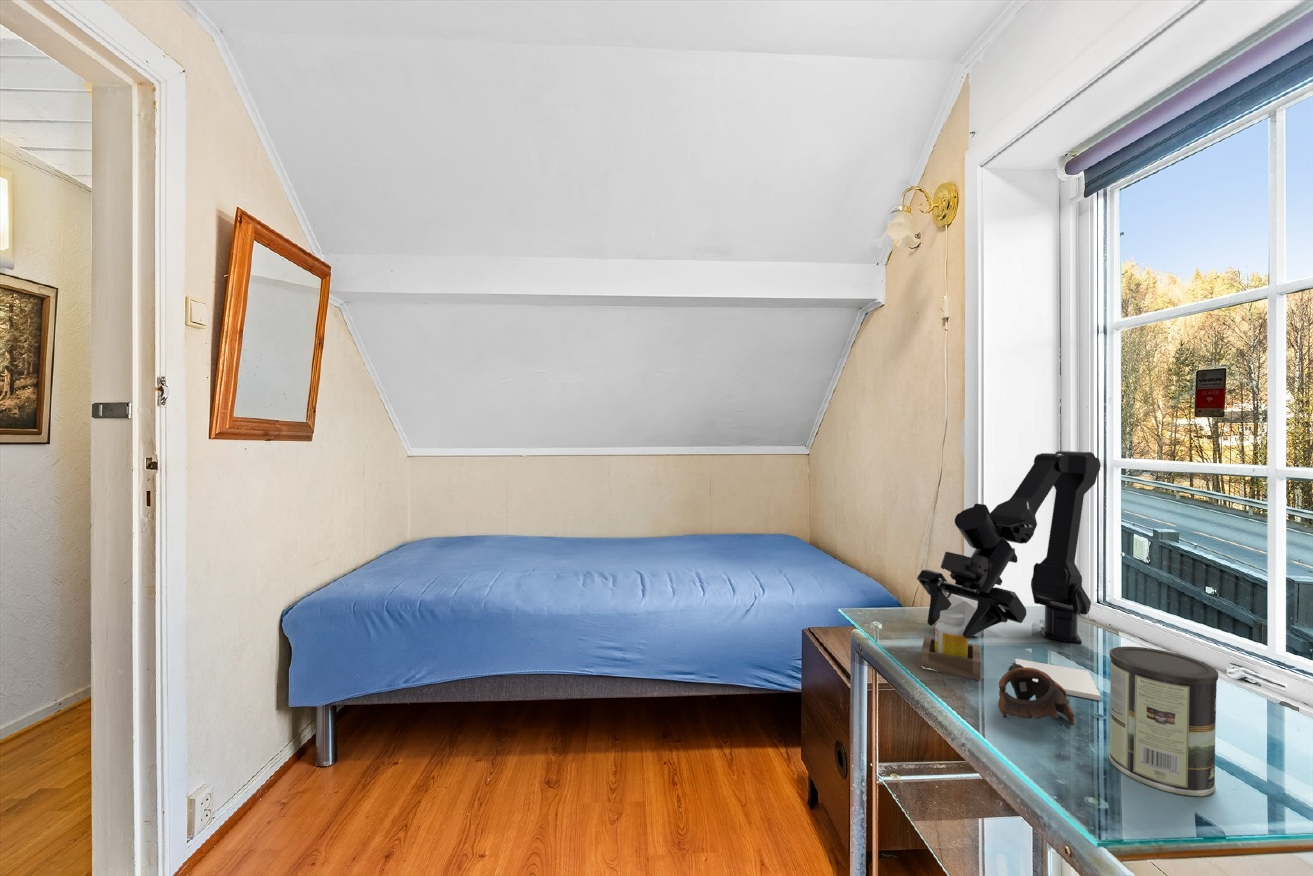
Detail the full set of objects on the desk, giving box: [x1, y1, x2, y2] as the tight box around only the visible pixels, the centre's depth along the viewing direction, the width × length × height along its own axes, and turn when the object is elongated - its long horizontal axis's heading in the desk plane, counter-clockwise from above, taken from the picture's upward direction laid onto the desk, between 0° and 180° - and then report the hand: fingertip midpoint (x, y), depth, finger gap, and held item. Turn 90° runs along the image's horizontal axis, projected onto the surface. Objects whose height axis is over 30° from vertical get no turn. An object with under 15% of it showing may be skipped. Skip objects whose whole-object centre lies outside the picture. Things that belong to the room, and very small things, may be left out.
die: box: [947, 594, 981, 638], centre depth 123 cm, size 8×9×10 cm
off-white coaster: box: [1014, 658, 1102, 702], centre depth 99 cm, size 11×11×1 cm
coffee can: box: [1108, 646, 1219, 797], centre depth 72 cm, size 10×10×14 cm
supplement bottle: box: [934, 610, 969, 658], centre depth 105 cm, size 5×5×10 cm
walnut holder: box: [920, 635, 982, 681], centre depth 105 cm, size 9×9×3 cm
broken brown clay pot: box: [997, 663, 1075, 725], centre depth 87 cm, size 12×10×8 cm
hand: (946, 630), depth 104 cm, fingers open, 7 cm apart
